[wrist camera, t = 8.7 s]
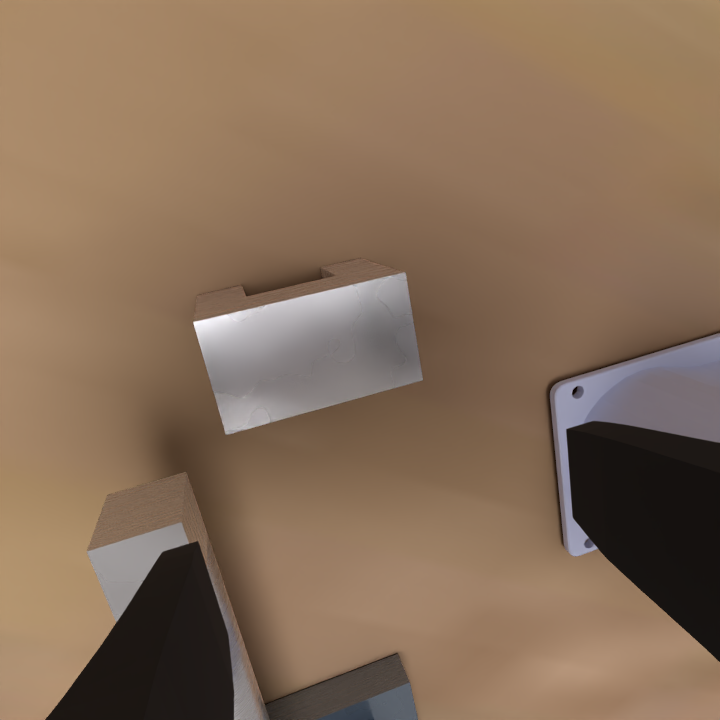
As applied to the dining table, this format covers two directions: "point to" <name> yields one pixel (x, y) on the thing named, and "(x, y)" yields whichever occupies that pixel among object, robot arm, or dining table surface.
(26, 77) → the dining table surface
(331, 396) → the notched block
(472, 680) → the dining table surface
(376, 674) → the vise
